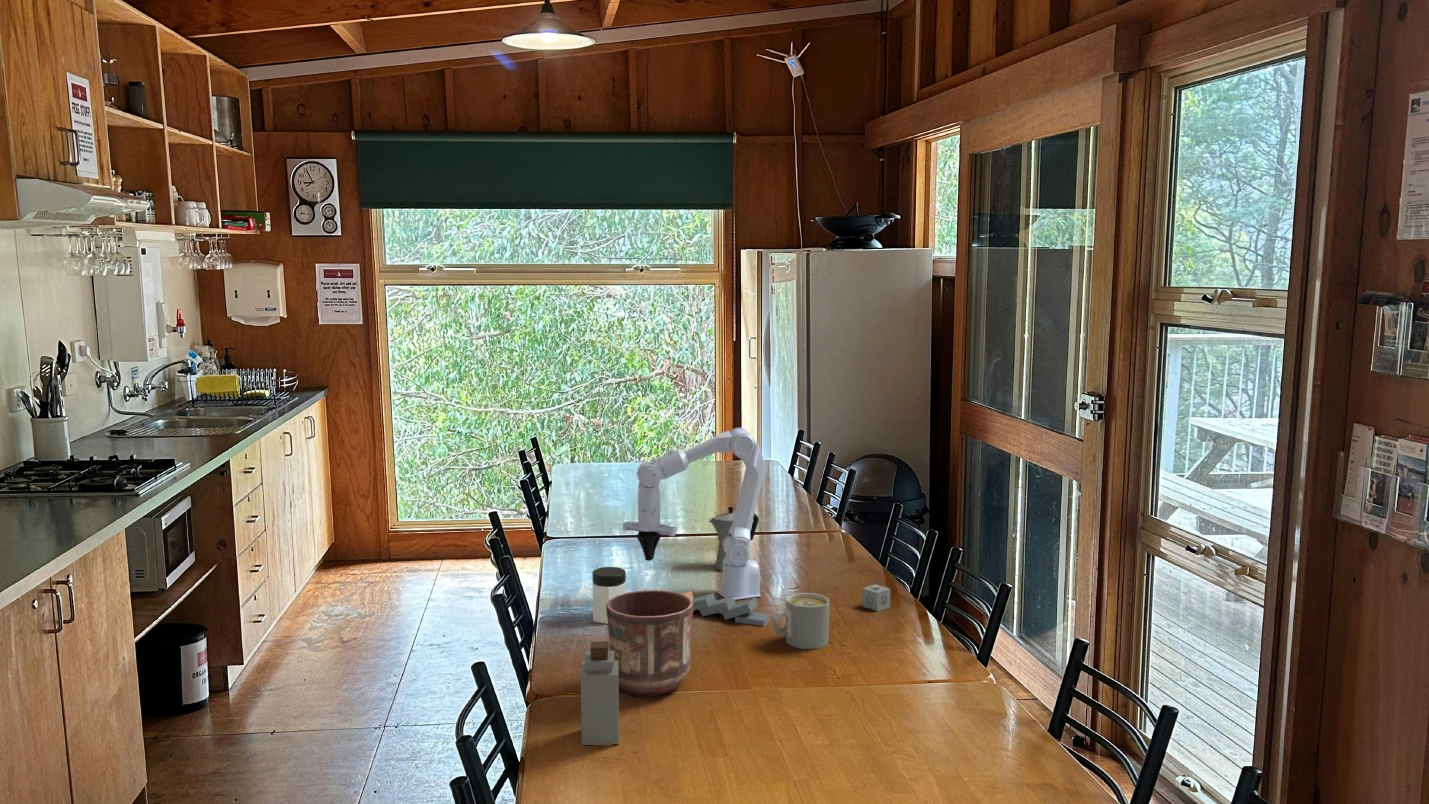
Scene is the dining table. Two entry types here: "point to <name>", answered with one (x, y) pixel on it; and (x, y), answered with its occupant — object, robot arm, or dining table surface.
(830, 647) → the dining table surface
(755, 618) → the domino
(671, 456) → the robot arm
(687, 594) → the domino
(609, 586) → the jar
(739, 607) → the domino
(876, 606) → the white cube
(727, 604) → the domino
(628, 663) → the pottery
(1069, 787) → the dining table surface
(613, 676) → the perfume bottle
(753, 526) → the coffeepot
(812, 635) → the coffee mug
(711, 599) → the domino
